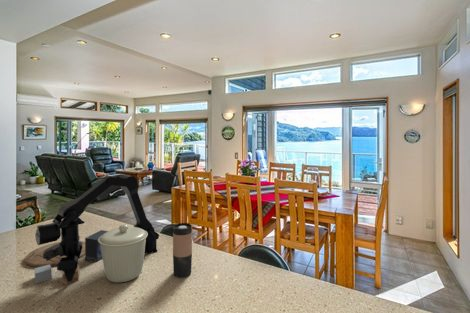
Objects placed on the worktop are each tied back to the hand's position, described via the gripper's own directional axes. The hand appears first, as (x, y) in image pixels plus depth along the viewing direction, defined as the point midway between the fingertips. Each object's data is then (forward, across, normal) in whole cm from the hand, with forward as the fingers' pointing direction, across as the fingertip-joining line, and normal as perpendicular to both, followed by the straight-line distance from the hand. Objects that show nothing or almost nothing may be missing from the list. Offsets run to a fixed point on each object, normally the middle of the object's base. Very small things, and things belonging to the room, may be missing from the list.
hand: (71, 275), depth 100 cm
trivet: (+2, -26, -8) cm, 28 cm away
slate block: (+2, -5, -10) cm, 11 cm away
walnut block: (+2, 0, 0) cm, 2 cm away
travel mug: (+2, +13, +41) cm, 43 cm away
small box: (+2, -17, +9) cm, 19 cm away
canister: (+2, +6, +19) cm, 20 cm away
